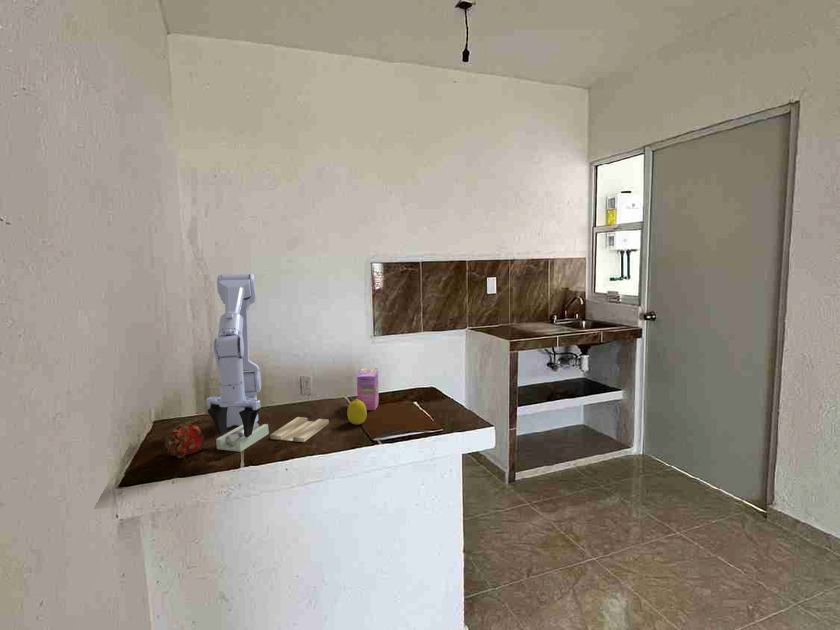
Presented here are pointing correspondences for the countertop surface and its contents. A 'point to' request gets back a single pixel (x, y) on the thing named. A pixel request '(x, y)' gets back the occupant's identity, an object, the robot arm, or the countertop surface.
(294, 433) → the grooved wooden board
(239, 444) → the cradle
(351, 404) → the lemon
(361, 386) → the box
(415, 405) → the countertop surface
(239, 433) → the axle
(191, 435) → the dragon fruit
